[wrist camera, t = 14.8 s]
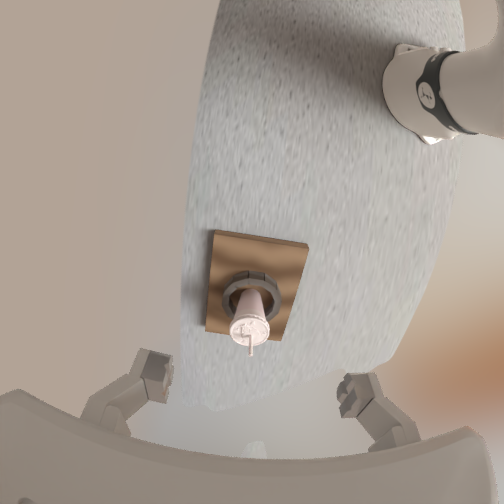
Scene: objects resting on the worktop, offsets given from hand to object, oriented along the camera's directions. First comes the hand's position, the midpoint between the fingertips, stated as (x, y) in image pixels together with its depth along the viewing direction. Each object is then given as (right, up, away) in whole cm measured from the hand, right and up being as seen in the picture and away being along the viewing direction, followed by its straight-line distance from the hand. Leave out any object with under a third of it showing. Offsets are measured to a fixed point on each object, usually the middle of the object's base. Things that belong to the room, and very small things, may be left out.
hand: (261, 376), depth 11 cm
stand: (0, -1, +40) cm, 40 cm away
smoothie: (-1, -3, +39) cm, 39 cm away
